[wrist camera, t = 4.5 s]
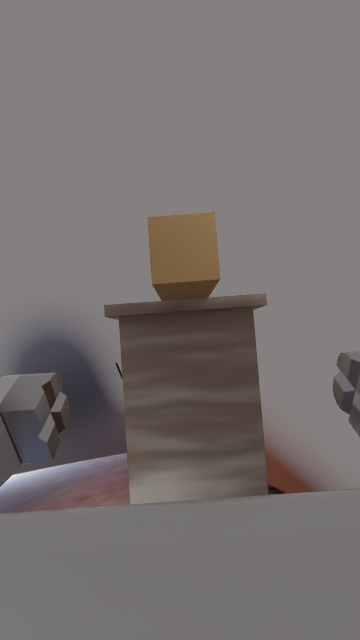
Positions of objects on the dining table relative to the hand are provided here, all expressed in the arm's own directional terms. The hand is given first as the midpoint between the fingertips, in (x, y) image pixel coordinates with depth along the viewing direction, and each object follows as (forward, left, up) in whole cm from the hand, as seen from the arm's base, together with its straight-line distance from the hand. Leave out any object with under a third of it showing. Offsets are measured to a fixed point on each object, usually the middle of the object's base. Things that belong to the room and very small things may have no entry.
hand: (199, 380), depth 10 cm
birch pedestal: (-20, +17, -21) cm, 34 cm away
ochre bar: (-15, +13, +4) cm, 21 cm away
